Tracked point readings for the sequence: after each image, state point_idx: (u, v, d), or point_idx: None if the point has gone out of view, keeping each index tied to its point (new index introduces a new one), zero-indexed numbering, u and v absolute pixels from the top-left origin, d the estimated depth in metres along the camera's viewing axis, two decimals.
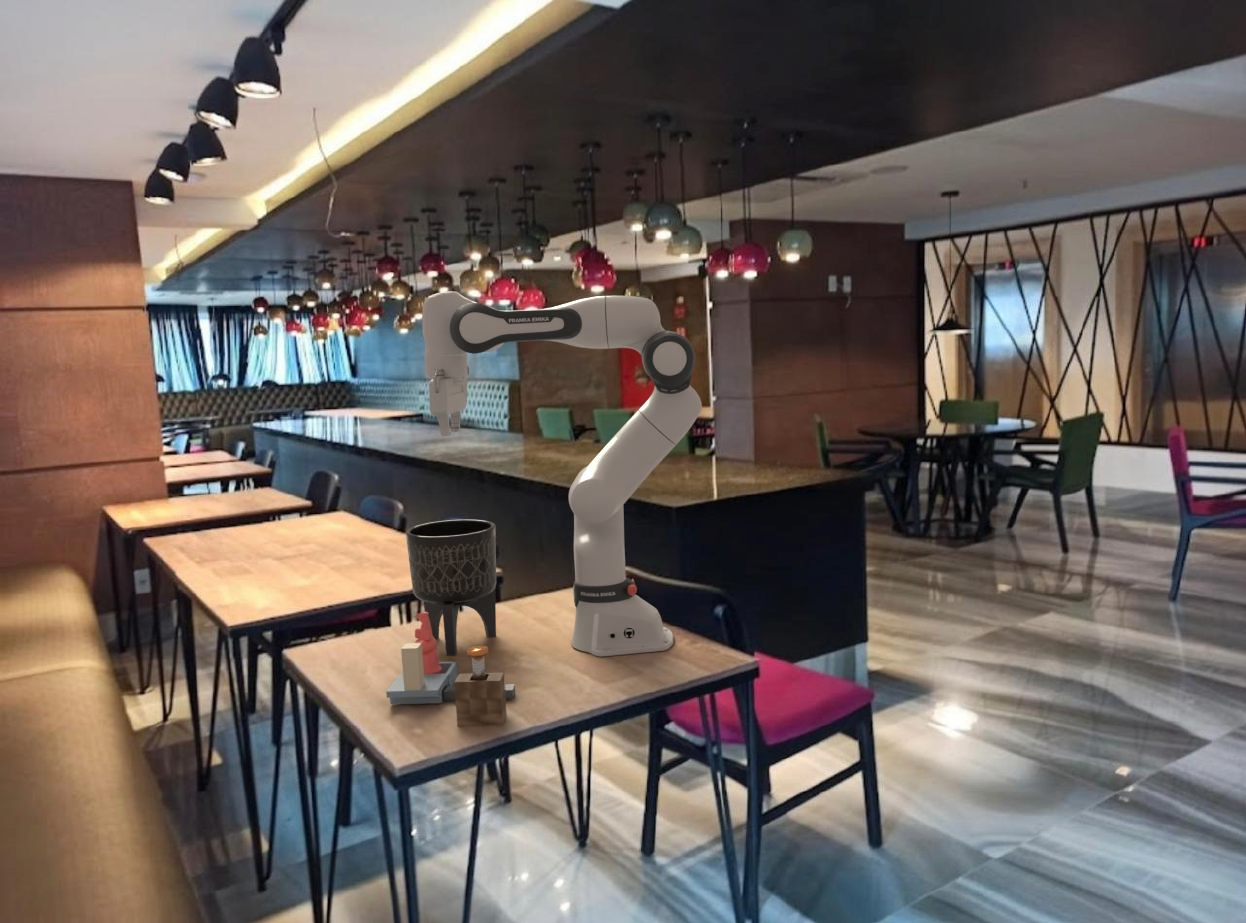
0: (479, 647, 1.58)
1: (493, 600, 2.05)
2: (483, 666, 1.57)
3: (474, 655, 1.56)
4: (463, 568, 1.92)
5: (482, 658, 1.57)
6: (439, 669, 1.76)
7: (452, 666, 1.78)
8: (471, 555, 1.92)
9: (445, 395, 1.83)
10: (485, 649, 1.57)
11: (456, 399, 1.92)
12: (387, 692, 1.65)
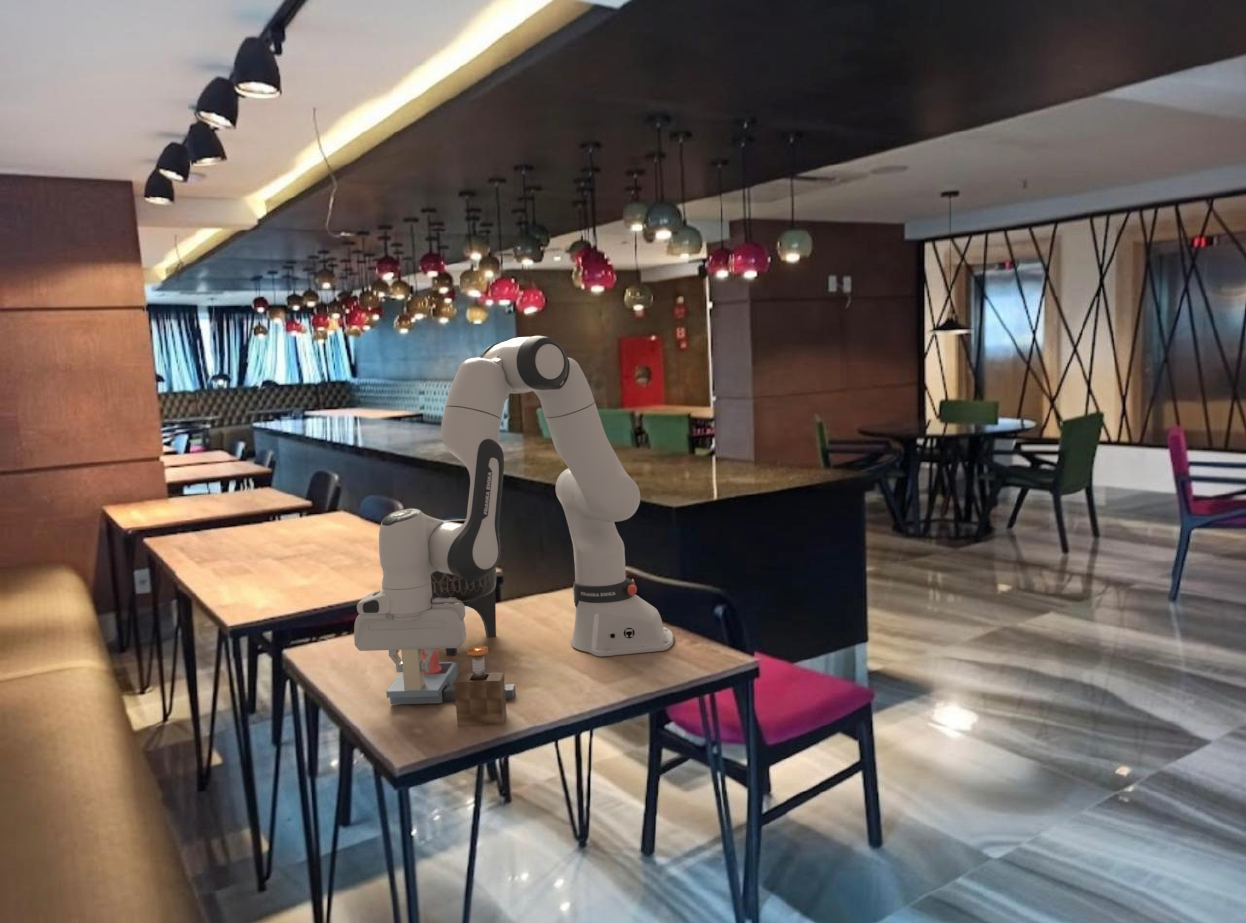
0: (479, 647, 1.58)
1: (493, 600, 2.05)
2: (483, 666, 1.57)
3: (474, 655, 1.56)
4: None
5: (482, 658, 1.57)
6: (439, 669, 1.76)
7: (452, 666, 1.78)
8: None
9: None
10: (485, 649, 1.57)
11: None
12: (387, 692, 1.65)
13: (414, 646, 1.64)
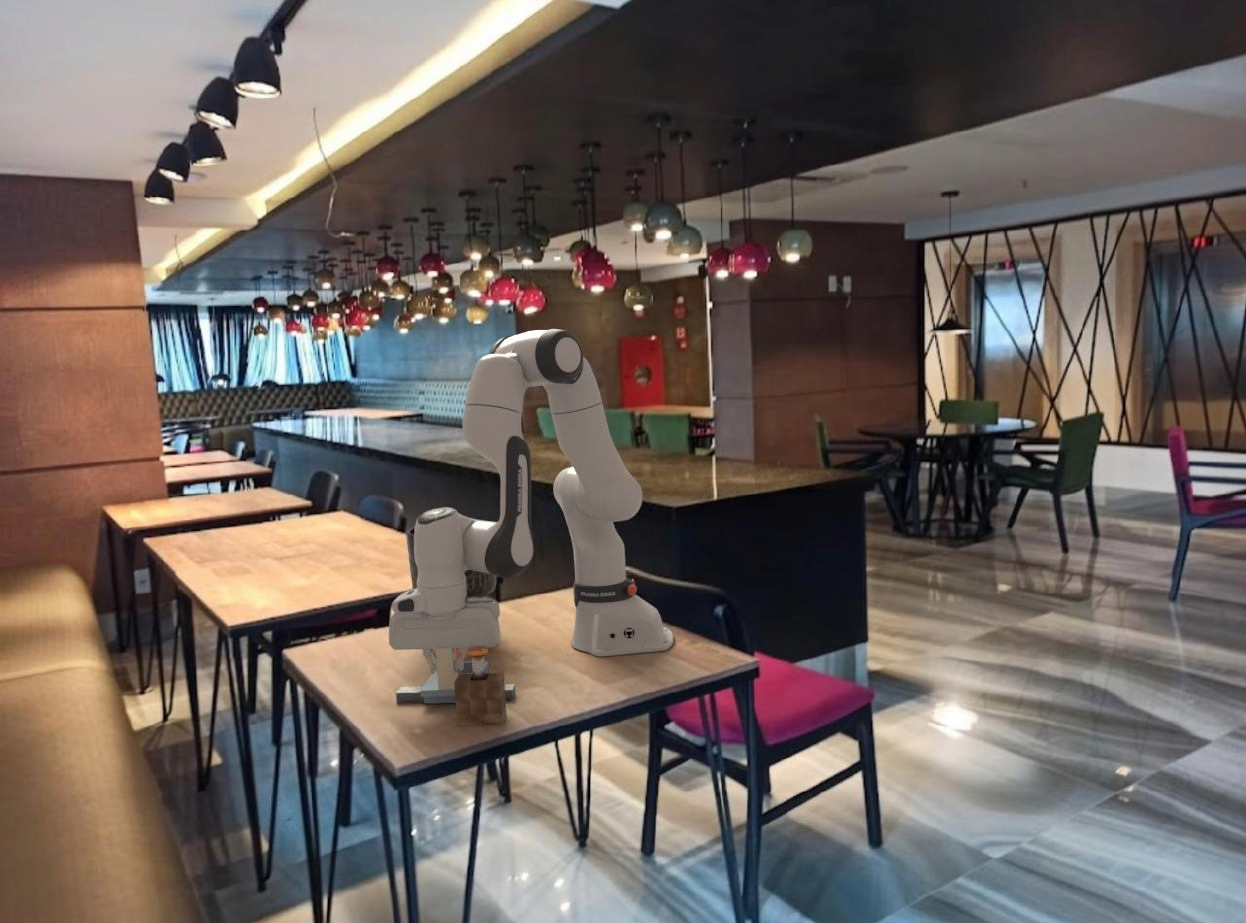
0: (479, 647, 1.58)
1: None
2: (483, 666, 1.57)
3: (474, 655, 1.56)
4: None
5: (482, 658, 1.57)
6: None
7: None
8: None
9: None
10: (485, 649, 1.57)
11: None
12: (421, 691, 1.65)
13: (448, 645, 1.64)
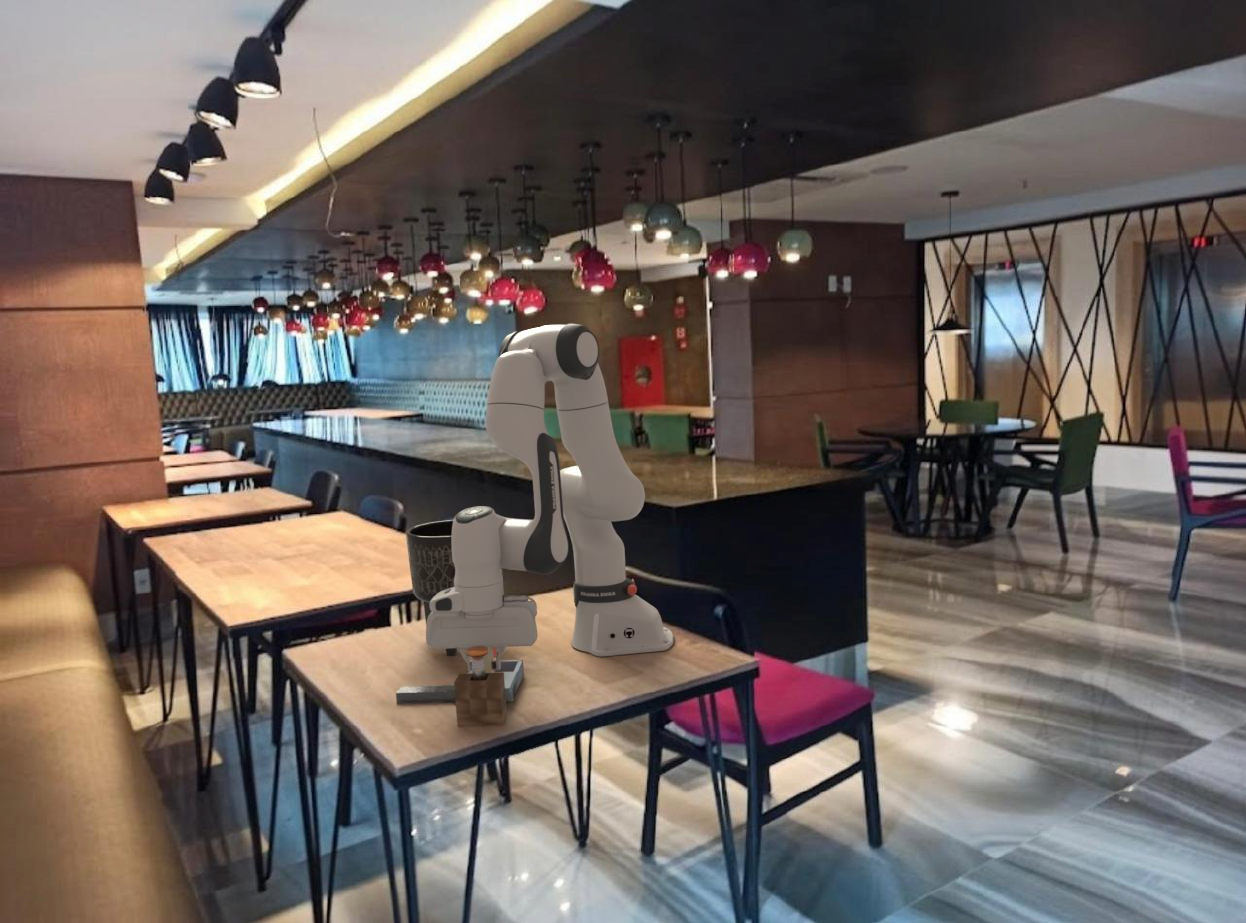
0: (479, 647, 1.58)
1: None
2: (483, 666, 1.57)
3: (474, 655, 1.56)
4: None
5: (482, 658, 1.57)
6: None
7: (518, 664, 1.77)
8: None
9: None
10: (485, 649, 1.57)
11: None
12: None
13: (486, 644, 1.63)
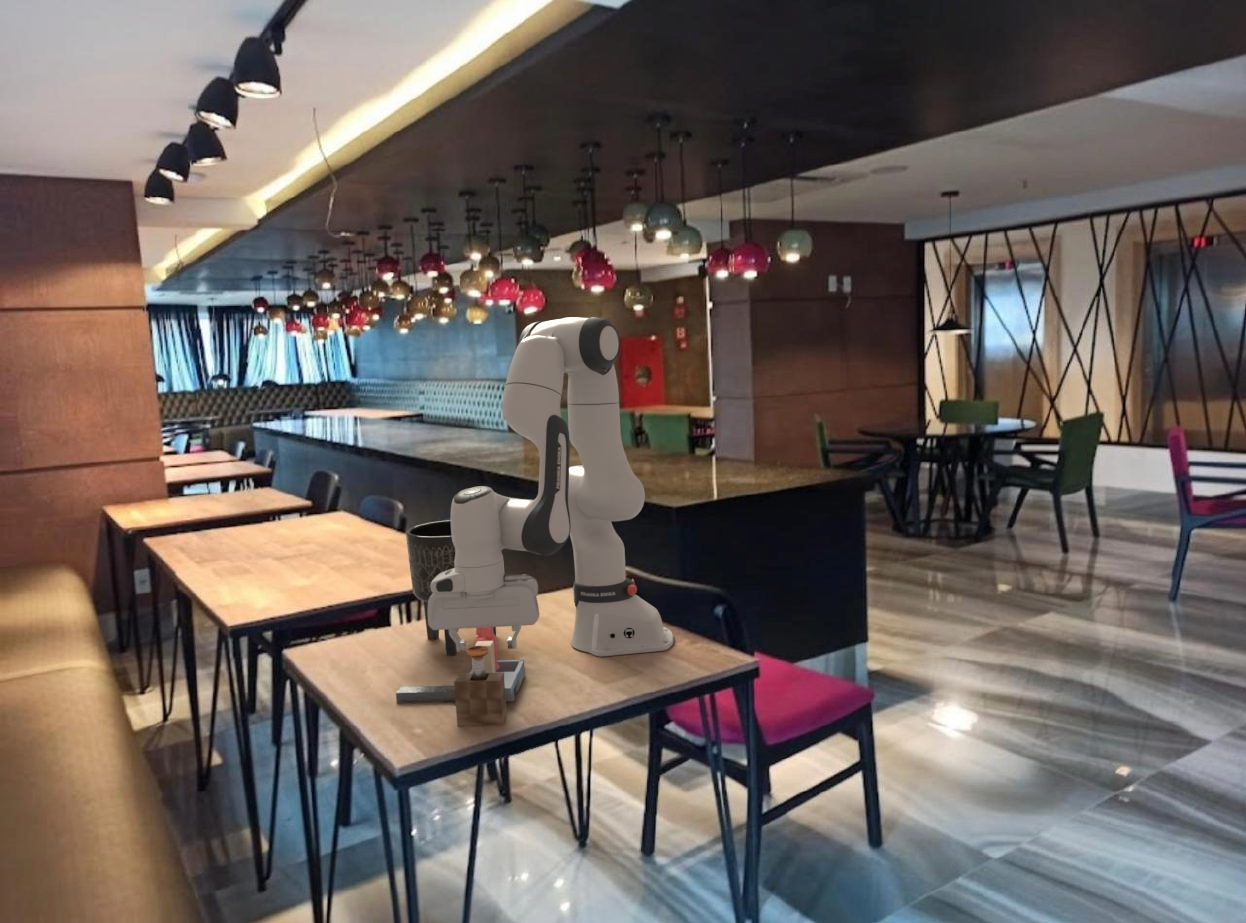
0: (479, 647, 1.58)
1: None
2: (483, 666, 1.57)
3: (474, 655, 1.56)
4: None
5: (482, 658, 1.57)
6: (498, 667, 1.76)
7: (520, 664, 1.77)
8: None
9: None
10: (485, 649, 1.57)
11: None
12: None
13: (488, 624, 1.63)
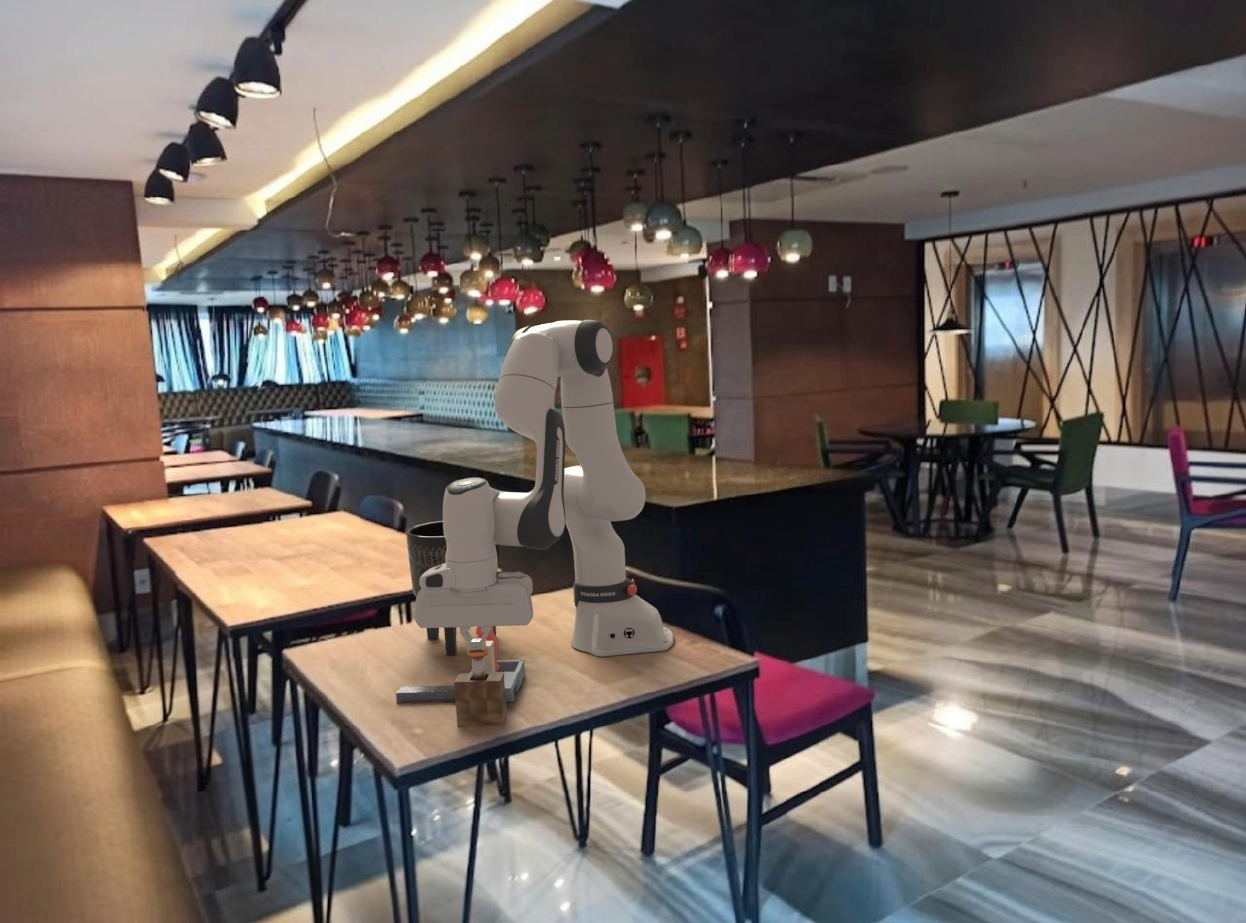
0: None
1: None
2: (483, 667, 1.57)
3: (474, 656, 1.56)
4: None
5: (482, 659, 1.57)
6: (498, 667, 1.76)
7: (520, 664, 1.77)
8: None
9: None
10: (485, 650, 1.57)
11: None
12: None
13: (478, 623, 1.55)
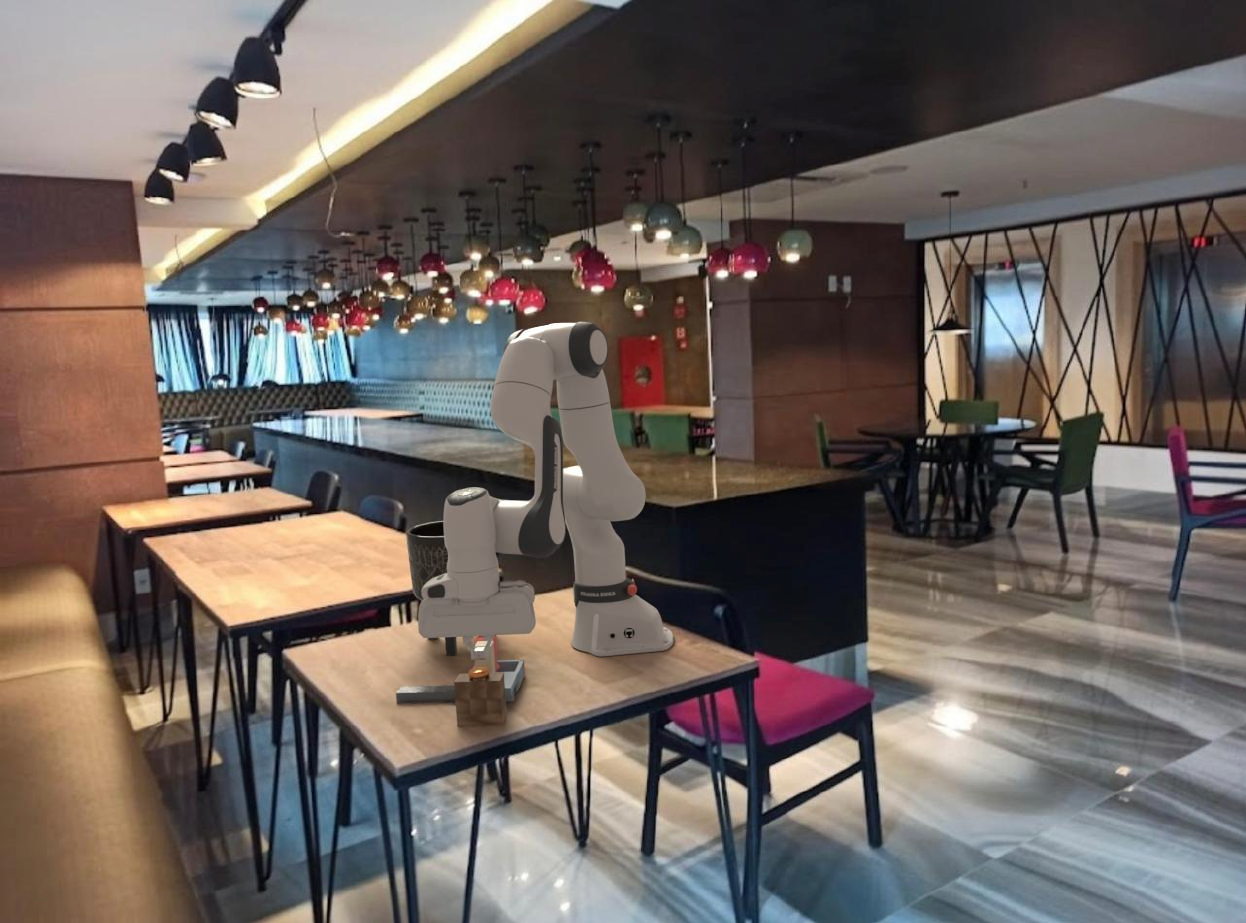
0: (480, 668, 1.59)
1: None
2: None
3: (475, 677, 1.56)
4: None
5: None
6: (498, 667, 1.76)
7: (520, 664, 1.77)
8: None
9: None
10: (486, 671, 1.58)
11: None
12: None
13: (481, 632, 1.55)
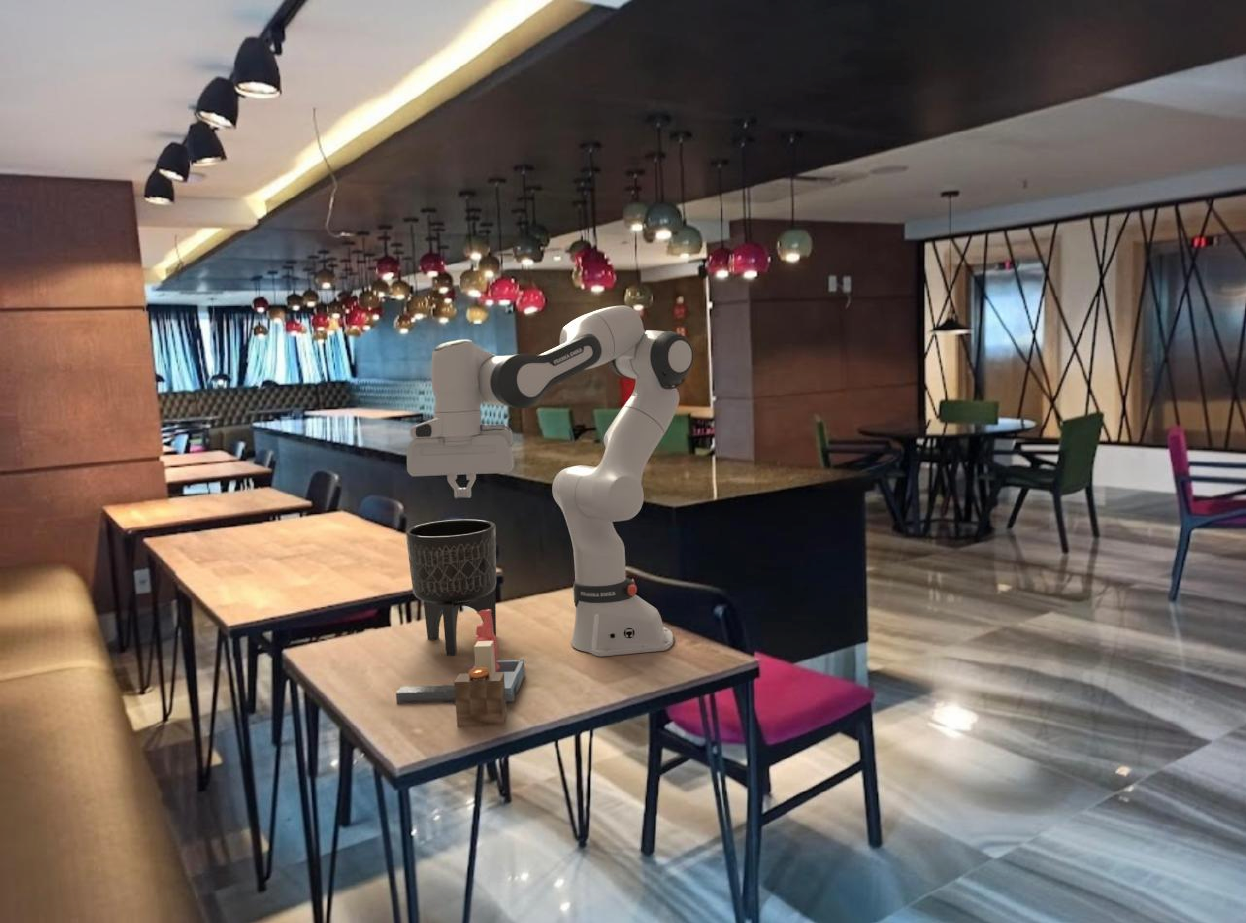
0: (480, 668, 1.59)
1: (493, 600, 2.05)
2: None
3: (475, 677, 1.56)
4: (463, 568, 1.92)
5: None
6: (498, 667, 1.76)
7: (520, 664, 1.77)
8: (471, 555, 1.92)
9: None
10: (486, 671, 1.58)
11: None
12: None
13: (464, 471, 1.70)
